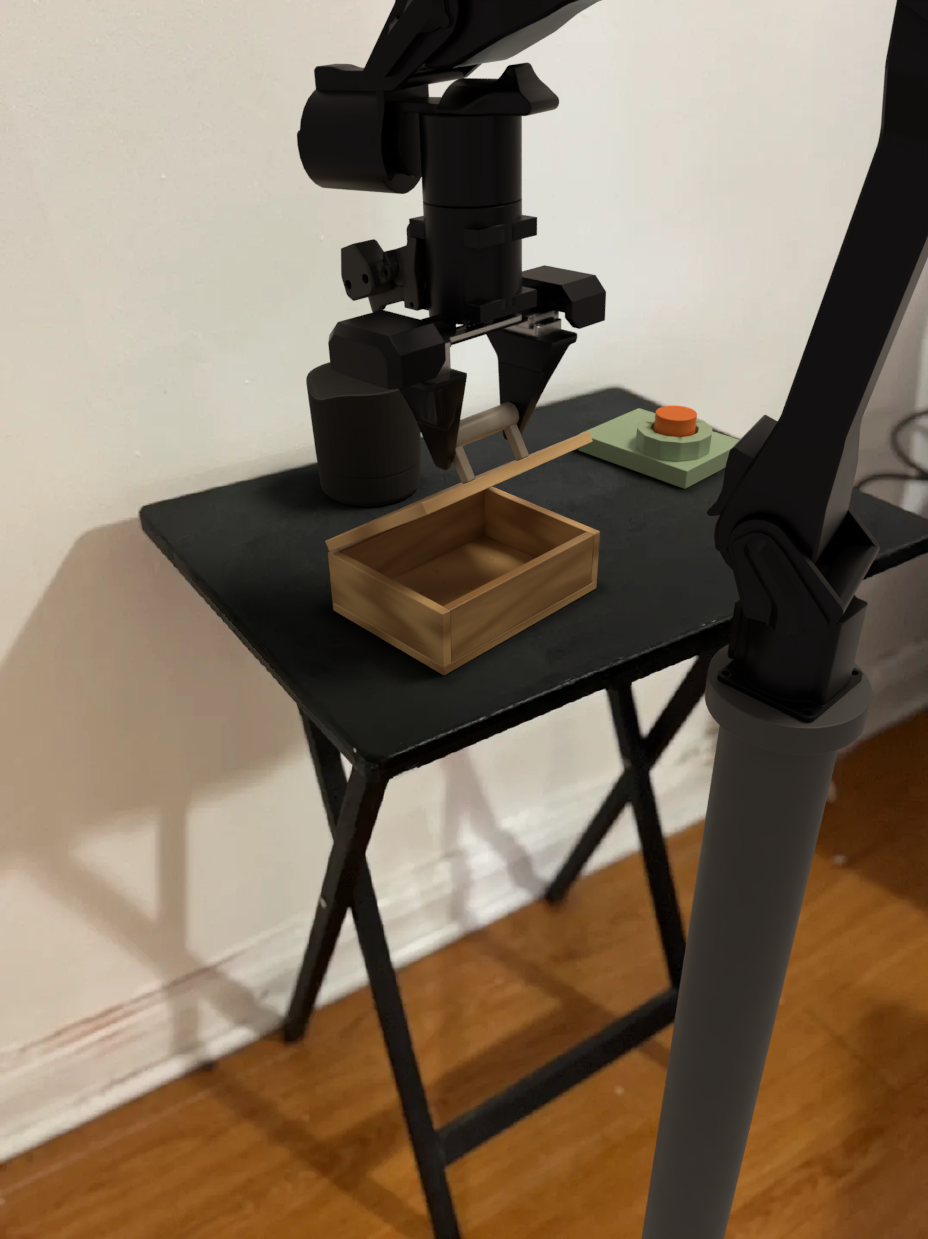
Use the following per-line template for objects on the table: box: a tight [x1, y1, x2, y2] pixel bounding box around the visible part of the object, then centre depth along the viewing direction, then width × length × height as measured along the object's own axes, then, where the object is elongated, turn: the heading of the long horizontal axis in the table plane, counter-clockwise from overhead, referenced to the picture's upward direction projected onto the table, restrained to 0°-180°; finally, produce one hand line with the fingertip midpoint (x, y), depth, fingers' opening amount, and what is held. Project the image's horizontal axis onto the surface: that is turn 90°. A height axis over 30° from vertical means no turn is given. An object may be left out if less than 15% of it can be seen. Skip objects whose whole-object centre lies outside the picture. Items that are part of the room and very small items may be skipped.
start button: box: [654, 405, 698, 437], centre depth 92 cm, size 4×4×2 cm
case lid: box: [324, 402, 593, 552], centre depth 71 cm, size 12×15×5 cm
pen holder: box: [305, 361, 422, 507], centre depth 89 cm, size 9×9×10 cm
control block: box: [578, 407, 740, 490], centre depth 95 cm, size 12×9×4 cm
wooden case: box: [327, 486, 601, 676], centre depth 74 cm, size 11×15×5 cm
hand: (478, 453), depth 68 cm, fingers closed on case lid, 6 cm apart
